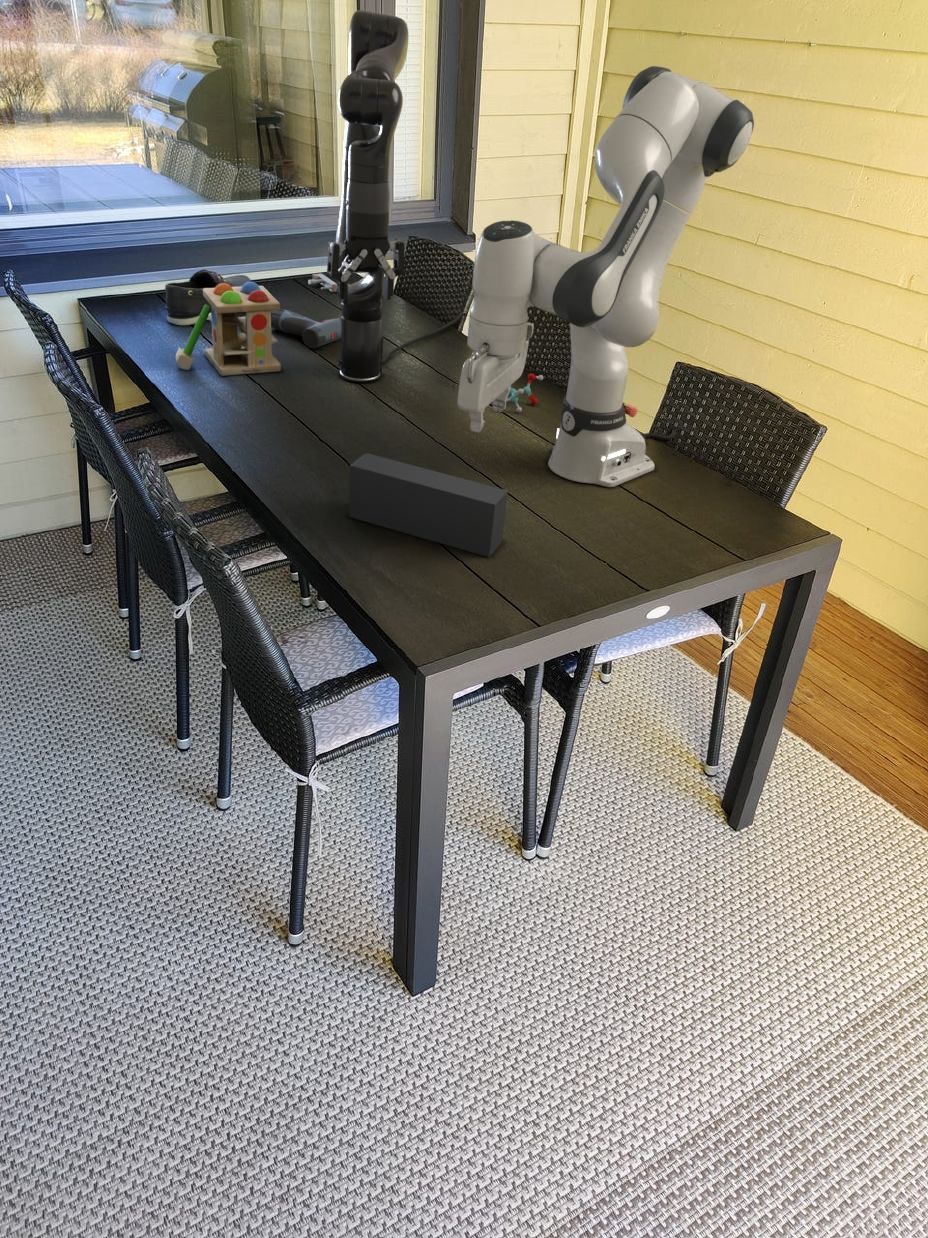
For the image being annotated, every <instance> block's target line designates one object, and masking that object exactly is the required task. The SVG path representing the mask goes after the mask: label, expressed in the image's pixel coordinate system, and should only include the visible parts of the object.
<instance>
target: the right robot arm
mask: <svg viewBox="0 0 928 1238" xmlns="http://www.w3.org/2000/svg"><path fill="white" fill-rule="evenodd" d="M754 127H755V119H754V115H753V112H752V110H751V109H750V108H749V107H748V106H746V104H744V103H743V102H742V101H740V100H738V99H733V98H732V97H730V96H728V95H727V94H726V93H725V92H723V91H721V90H720V89H717V88H716V87H714V86H712V85H710V84H708V83H706V82H704V81H699V80H696V79H693V78H691V77H689V76H686V75H683V74H679V73H676V72H673V71H672V70H671V69H670V68H667V67H664V66H656V65H652V66H649V67H647V68H645V69H642V70H641V71H639V72H638V73H637V74H636V75H635V77H633V79H632V80H631V83H630V84H629V86H628V88H627V91H626V93H625V96H624V99H623V103H622V109H621V110H620V112H619V113H618V114H617V115H616V117H615V118H614V119H613V121H612V122H611V123H610V124H609V126H608V127H607V128H606V130H605V131H604V133H603V134H602V135H601V137H600V138H599V140H598V143H597V145H596V147H595V151H594V169H595V173H596V176H597V178H598V181H599V182H600V185H601V187H603V189H604V190H605V192H606V194H607V195H608V196H609V197H610V198H611V199H612V200H613V201H614V202H616V204H618V205H619V208H618V211H617V213H616V215H615V217H614V218H613V220H612V222H611V224H610V225H609V227H608V229H607V231H606V233H605V235H604V236H603V238H602V240H601V241H600V244H599V246H598V247H597V248H594V249H593V250H591V251H586V252H581V251H579V250H576V249H572V248H569V247H567V246H563V245H562V244H559V243H556V242H553V241H550V240H548V239H546V238H543V237H542V236H540V235H538V234H537V233H536V232H535V231H534V229H533V227H532V226H531V225H530V224H528V223H527V222H524V221H520V220H512V219H511V220H499V221H496V222H493V223H491V224H488V226H486V227H485V228H484V229H483V230H482V232H481V234H480V237H479V240H478V243H477V247H476V250H475V251H476V252H475V257H474V263H473V271H472V283H471V286H472V292H473V301H472V304H471V307H470V309H469V318H468V328H467V341H466V344H467V346H468V347H469V348H470V349H471V350H473V351H472V353H471V355H470V357H468V358H467V359H466V360H465V361H464V362H463V365H462V368H461V372H460V378H459V383H458V392H457V401H456V402H457V403H456V404H457V407H458V409H459V410H460V411H463V412H467V413H468V416H469V419H470V426H469V429H470V431H471V432H474V433H477V434H478V433H481V432H482V431H483V430H484V429H485V422H486V419H484V414H483V413H485V409H486V408H487V407H488V406H489V405H490V404H491V403H492V407H491V409H492V412H495V413H502V412H504V411H505V410H506V406H507V402H506V400H507V397H508V395H509V392H510V389H511V388H512V385H513V384H514V383H515V382H517V380H518V379H519V378H521V377H522V375H523V373H524V369H525V366H526V360H527V355H528V350H529V343H530V339H531V338H532V337H533V334H534V327H535V326H534V323H532V322H528V318H529V314H528V309H529V308H530V307H535V308H536V309H539V310H541V311H544V312H546V313H549V314H552V315H554V316H557V317H559V318H560V319H562V320H564V321H566V322H568V323H569V329H570V331H569V333H570V368H569V375H568V382H567V390H566V395H565V396H564V397H563V402H562V406H561V407H562V408H561V412H560V413H561V414H560V419H561V420H560V421H561V423H560V426H559V428H557V430H556V440H555V444H554V446H553V447H552V451H551V454H550V456H549V459H548V462H547V465H548V468H549V469H550V470H551V471H552V472H553V473H555V474H556V475H558V476H559V477H562V478H564V479H566V480H570V481H573V482H577V483H584V484H585V483H586V484H593V485H599V486H602V487H606V488H615V487H617V486H619V485H622V484H624V483H626V482H629V481H631V480H634V479H636V478H638V477H640V476H643V475H646V474H648V473H650V472H653V471H654V470H655V462H654V461H653V460H652V459H651V458H650V457H649V456H648V455H646V451H647V449H646V448H647V445H646V442H647V440H646V438H653V439H657V440H662V441H668V440H672V439H674V438H675V437H676V435H677V433H679V432H680V431H678V430H677V432H676V430H673V429H672V432H671V434H669V435H663V434H657V433H651V432H646V433H643V432H640V431H639V430H637V429H636V428H635V427H633V426H632V424H630V423H629V422H628V421H627V416H626V415H628V416H629V417H631V418H635V417H636V415H637V414H638V407H635V406H633V405H632V404H627V405H626V404H625V403H624V398H625V397H624V396H625V391H626V386H627V381H628V376H629V361H628V358H627V353H626V348H636V347H640V346H642V345H644V344H645V343H647V342H648V341H649V340H650V339H651V338H652V337H653V336H654V334H655V333H656V330H657V328H658V327H659V322H660V308H659V307H660V306H659V300H660V294H661V288H662V285H663V280H664V277H665V273H666V269H667V266H668V263H669V260H670V257H671V255H672V253H673V251H674V249H675V247H676V245H677V243H678V241H679V239H680V237H681V235H682V233H683V231H684V230H685V227H686V226H687V223H688V221H689V220H690V218H691V214H693V212H694V211H695V208H696V206H697V205H698V202H699V199H700V197H701V195H702V193H703V190H704V188H705V185H706V183H707V179H708V178H709V177H710V178H711V176H713V175H714V174H715V173H722V172H724V171H726V170H728V169H730V168H731V167H733V166H734V165H735V164H736V163H737V162H738V161H739V159H740V158H741V157H742V156H743V155H744V153H745V151H746V150H747V148H748V146H749V144H750V141H751V139H752V134H753V132H754Z"/></svg>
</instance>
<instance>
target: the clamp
mask: <svg viewBox="0 0 928 1238" xmlns="http://www.w3.org/2000/svg"><path fill="white" fill-rule="evenodd" d="M307 283H308V285H317V284H320V285H322V286H323V287H322V286H321V287H320V290H329V292H331V293H337V282H335V281H333V280H332V279H330V278H329V277H327V276H326V275H325V274H323V273H313V274H312V279H308V280H307ZM349 285H350V283H348V286H349Z"/></svg>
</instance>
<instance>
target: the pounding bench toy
mask: <svg viewBox="0 0 928 1238" xmlns="http://www.w3.org/2000/svg"><path fill="white" fill-rule="evenodd" d="M203 296H204V297H205V299H206V300H207V301H208V302H209V304H210V305H211V307H210V306H208V305H204V307H203V309H202V311H201V314H200V316H199V318H198V320H197V322H196V323H195V324H194V327H193V329H192V331H191V332H190V333H191V334H190V336H189V338H188V340H187V343H186V344H185V347H184V348H182V347H180V346H179V347H178V349H177V351H176V354H175V357H174V358H175V362H176V365H177V366H178V368H179V369H182V370H185V371H189V370H190V369H191V367H192V365H193V363H194V356H193V351H194V348H195V347H196V345H197V342H198V340H199V337H200V336H201V333H202V332H203V329H204V326H205V325H206V322H207V321H210V322H211V336H212V337H211V338H212V339H211V340H212V348H205V349H204V352H205V353H204V355H205V357H206V359H208V361H209V363H210V364H211V365H212V366H213V367H214V369H215V370H216V371H217V372H218V374H219V375H220V376H222V377H223V376H234V375H235V376H236V375H246V374H247V375H250V374H262V373H275V372H281V370H282V364H281V363H280V362H279V360H278V359H277V358H276V357H275V356H274V355H273V348H272V347H273V345H272V344H276V343H278V342H279V341H278V339H277V338H276V337H275V336H274V334H272V327H271V310H280V309H281V304H280V301H278V300H277V299H276V297H274V296H273V295H272V294H271V293H270V292H269V290H268V289H267V288H266V287H264V285H259V284H257V283H256V282H255V281H252V282H247V283H245V284H244V285H243V286H242V287H231V286H230V285H228V284H226V283H221V284H218V285H217V286H216V287H215V288H204V289H203ZM210 310H211V314H209V312H210ZM238 313H244V314H245V315H244V316H238ZM207 318H209V320H207ZM238 329H239V331H240V333H239V334H238Z"/></svg>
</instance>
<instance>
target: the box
mask: <svg viewBox="0 0 928 1238" xmlns="http://www.w3.org/2000/svg"><path fill="white" fill-rule="evenodd" d="M508 493H509V490H508V489H503V488H500V487H495V486H492V485H488V484H484V483H481V482H477V481H474V480H470V479H465V478H462V477H458V476H454V475H450V474H447V473H443V472H440V471H435V470H432V469H428V468H425V467H420V466H417V465H414V464H409V463H405V462H401V461H399V460H395V459H390V458H387V457H384V456H383V457H382V456H379V455H375V454H371V453H368V452H366V453H364V454H363V455H362V456H361V457H359V458H357V460H355V461H354V462H352V463H351V464H350V465H349V502H348V503H349V505H348V506H349V507H348V509H349V510H348V517H349V518H351V519H354V520H358V521H362V522H365V523H369V524H372V525H375V526H379V527H382V528H386V529H388V530H393V531H396V532H400V533H403V534H407V535H410V536H414V537H417V538H421V539H424V540H427V541H430V542H434V543H438V544H442V545H445V546H448V547H452V548H455V549H459V550H462V551H466V552H469V553H472V554H476V555H479V556H482V557H486V558H490V557H491V556H492V555H493V553H494V552H495V551H496V550H497V549H498V547H500V545H501V544H502V542H503V537H504V536H503V535H504V527H505V520H506V512H507V511H506V509H507V503H508Z"/></svg>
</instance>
